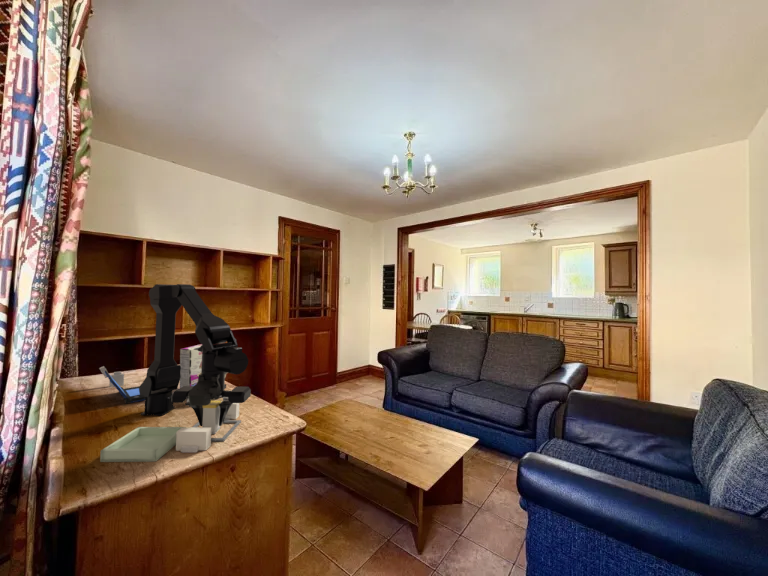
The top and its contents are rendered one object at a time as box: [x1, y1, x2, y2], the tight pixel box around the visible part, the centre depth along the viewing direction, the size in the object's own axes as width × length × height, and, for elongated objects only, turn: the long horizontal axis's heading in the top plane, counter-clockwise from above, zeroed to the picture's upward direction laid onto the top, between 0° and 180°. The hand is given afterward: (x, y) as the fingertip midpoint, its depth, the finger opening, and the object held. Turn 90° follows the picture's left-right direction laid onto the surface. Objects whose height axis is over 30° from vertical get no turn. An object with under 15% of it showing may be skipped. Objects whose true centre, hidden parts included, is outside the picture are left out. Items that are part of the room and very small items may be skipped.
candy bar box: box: [179, 343, 202, 389], centre depth 118 cm, size 11×5×16 cm, turn 168°
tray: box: [99, 426, 183, 463], centre depth 75 cm, size 12×12×2 cm
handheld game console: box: [105, 370, 145, 405], centre depth 108 cm, size 16×13×9 cm
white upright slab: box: [99, 365, 125, 388], centre depth 118 cm, size 7×2×8 cm, turn 133°
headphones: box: [175, 400, 242, 453], centre depth 85 cm, size 12×22×4 cm, turn 4°
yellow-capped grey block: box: [202, 400, 222, 435], centre depth 85 cm, size 3×3×8 cm
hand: (211, 425), depth 85 cm, fingers open, 5 cm apart
